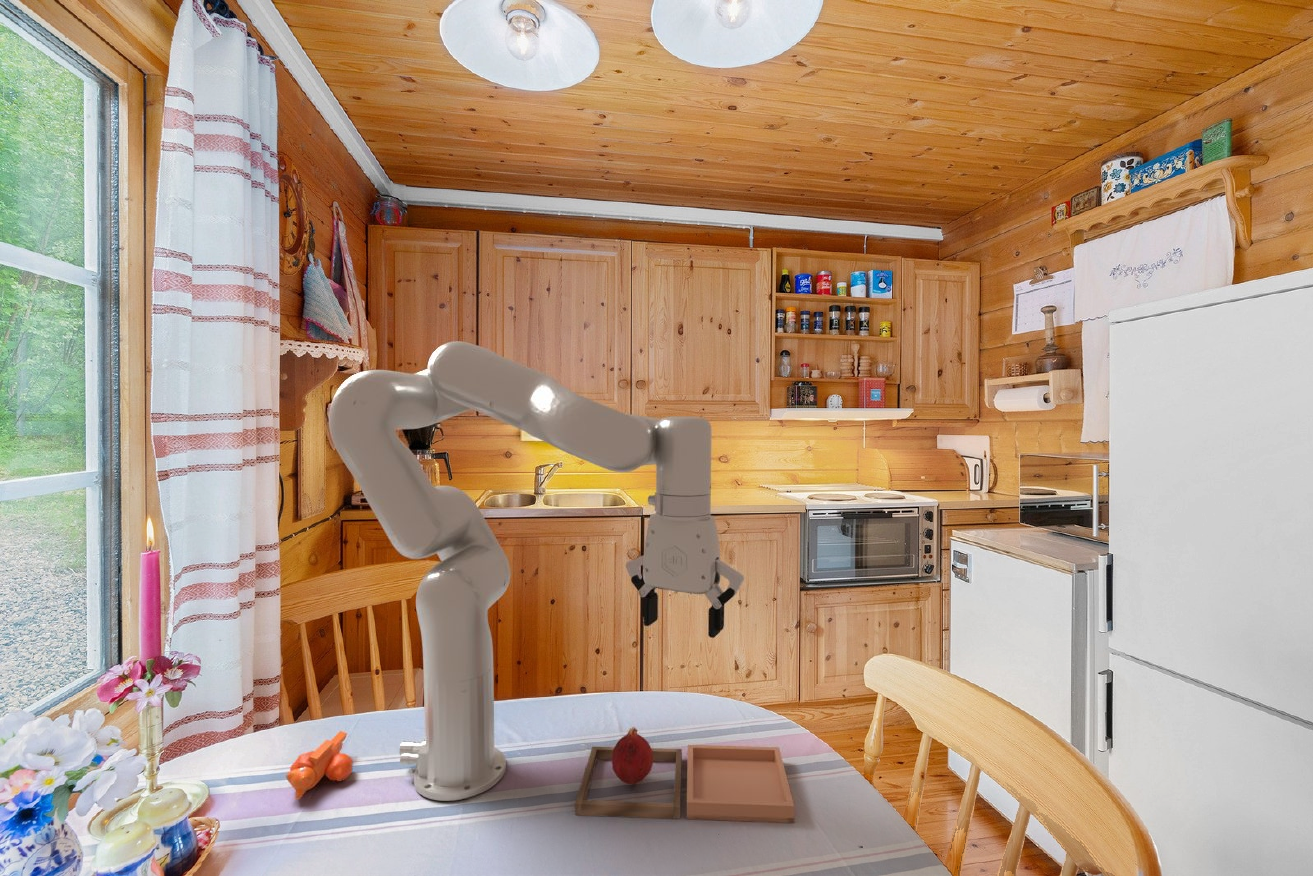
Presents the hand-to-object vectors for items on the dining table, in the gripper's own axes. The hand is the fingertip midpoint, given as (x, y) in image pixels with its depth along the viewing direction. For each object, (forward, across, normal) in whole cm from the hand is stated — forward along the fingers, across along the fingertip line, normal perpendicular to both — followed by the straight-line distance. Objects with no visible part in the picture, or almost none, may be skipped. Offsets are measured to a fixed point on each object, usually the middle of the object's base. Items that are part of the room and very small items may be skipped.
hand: (682, 628), depth 84 cm
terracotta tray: (+22, +7, +3) cm, 23 cm away
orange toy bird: (+23, -46, -20) cm, 56 cm away
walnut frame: (+22, -6, -3) cm, 23 cm away
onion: (+22, -6, -3) cm, 23 cm away
